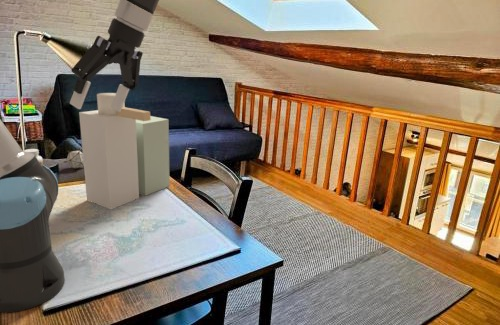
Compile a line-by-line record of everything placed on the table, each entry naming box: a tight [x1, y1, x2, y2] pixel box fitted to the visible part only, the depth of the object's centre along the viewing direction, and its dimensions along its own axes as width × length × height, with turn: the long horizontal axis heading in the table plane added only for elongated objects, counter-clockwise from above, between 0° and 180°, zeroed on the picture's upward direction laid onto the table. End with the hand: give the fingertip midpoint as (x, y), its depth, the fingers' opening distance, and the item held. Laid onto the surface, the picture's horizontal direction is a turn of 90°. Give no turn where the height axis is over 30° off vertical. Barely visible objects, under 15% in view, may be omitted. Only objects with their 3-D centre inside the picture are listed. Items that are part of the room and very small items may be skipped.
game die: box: [63, 148, 84, 171], centre depth 152 cm, size 9×8×10 cm
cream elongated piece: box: [96, 92, 151, 121], centre depth 111 cm, size 20×8×6 cm, turn 58°
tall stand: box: [78, 109, 140, 210], centre depth 120 cm, size 12×12×30 cm
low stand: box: [136, 115, 171, 196], centre depth 133 cm, size 12×12×26 cm
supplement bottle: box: [23, 148, 44, 165], centre depth 132 cm, size 7×7×13 cm
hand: (96, 108), depth 87 cm, fingers open, 13 cm apart
